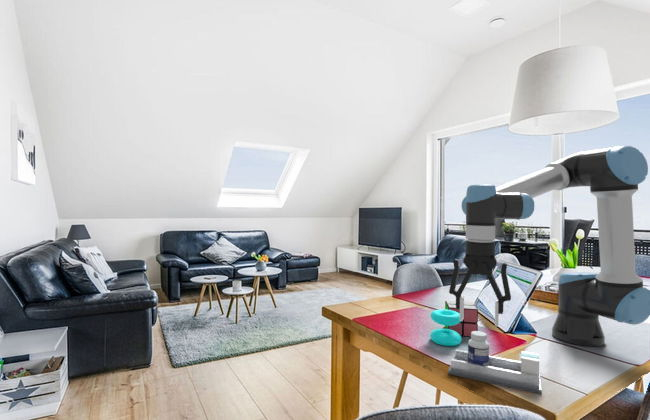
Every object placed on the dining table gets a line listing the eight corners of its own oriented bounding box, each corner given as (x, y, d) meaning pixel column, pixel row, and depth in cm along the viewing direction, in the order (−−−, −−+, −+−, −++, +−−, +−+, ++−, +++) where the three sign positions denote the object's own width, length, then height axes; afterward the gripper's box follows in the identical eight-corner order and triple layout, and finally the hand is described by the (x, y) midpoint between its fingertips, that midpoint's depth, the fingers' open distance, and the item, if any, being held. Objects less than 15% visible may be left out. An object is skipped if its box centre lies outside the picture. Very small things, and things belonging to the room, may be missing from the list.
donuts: (455, 308, 129) (466, 317, 119) (455, 336, 129) (466, 347, 119) (427, 308, 129) (435, 316, 119) (426, 336, 129) (435, 347, 119)
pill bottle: (466, 363, 105) (466, 329, 105) (486, 364, 104) (486, 330, 104) (469, 371, 100) (470, 335, 100) (490, 373, 99) (491, 337, 98)
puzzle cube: (477, 337, 128) (478, 309, 128) (447, 335, 130) (448, 307, 130) (472, 328, 138) (472, 302, 138) (444, 326, 140) (444, 300, 140)
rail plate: (539, 376, 100) (539, 363, 100) (541, 394, 90) (541, 380, 90) (454, 359, 110) (454, 347, 110) (448, 374, 100) (448, 361, 100)
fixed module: (538, 376, 97) (538, 353, 97) (539, 385, 93) (539, 361, 92) (520, 372, 99) (521, 350, 99) (520, 381, 94) (521, 357, 94)
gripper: (523, 241, 100) (521, 324, 100) (443, 237, 110) (442, 313, 110) (523, 244, 93) (522, 333, 93) (438, 239, 103) (437, 320, 103)
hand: (478, 322), depth 102 cm, fingers open, 8 cm apart
